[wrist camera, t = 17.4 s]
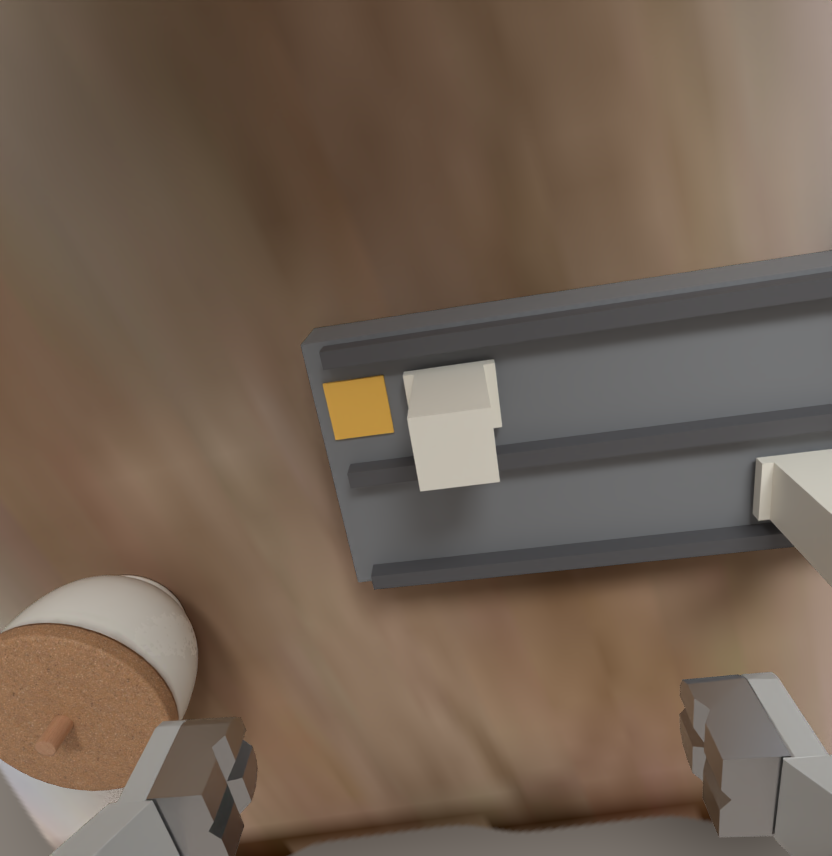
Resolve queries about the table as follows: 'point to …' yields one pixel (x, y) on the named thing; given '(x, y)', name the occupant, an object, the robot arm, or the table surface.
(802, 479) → the tab
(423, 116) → the table surface
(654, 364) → the switch board
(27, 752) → the lidded jar
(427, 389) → the tab
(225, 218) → the table surface
